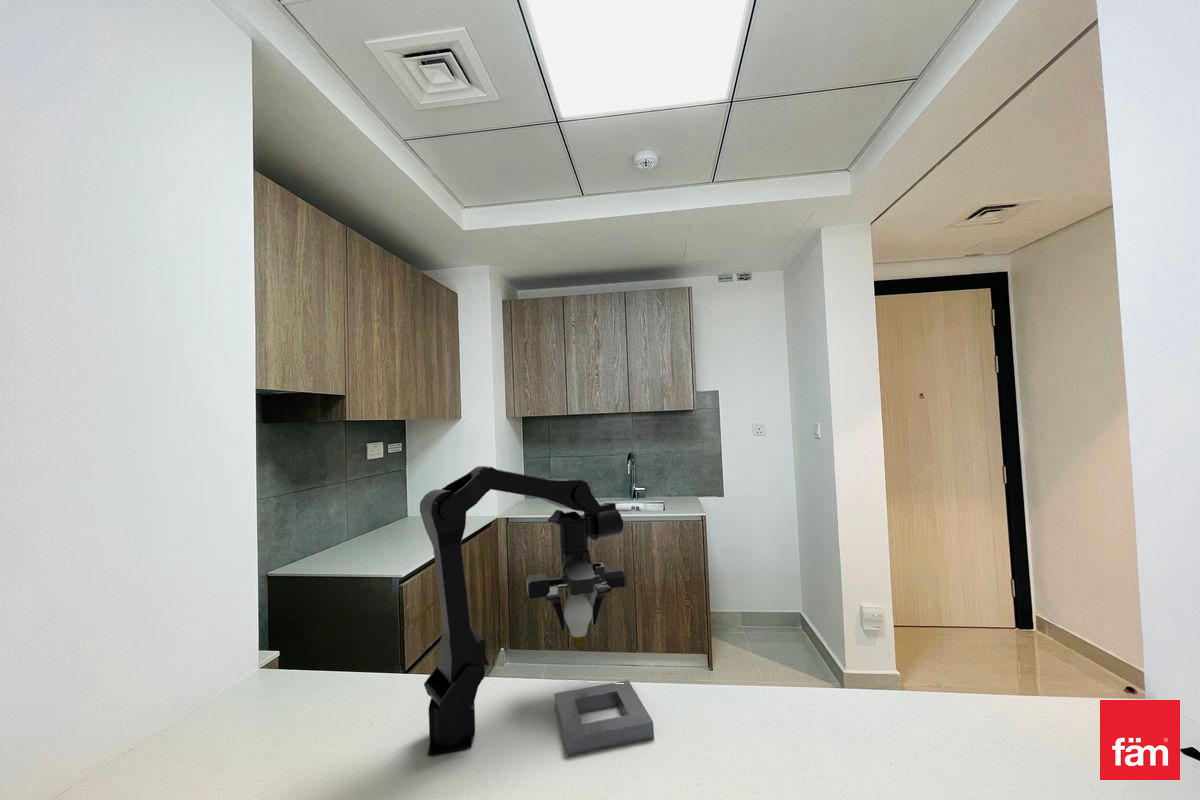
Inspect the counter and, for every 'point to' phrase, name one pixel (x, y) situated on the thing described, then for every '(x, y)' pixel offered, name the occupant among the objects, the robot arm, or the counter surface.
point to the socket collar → (603, 732)
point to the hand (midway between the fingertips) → (578, 627)
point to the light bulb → (578, 618)
